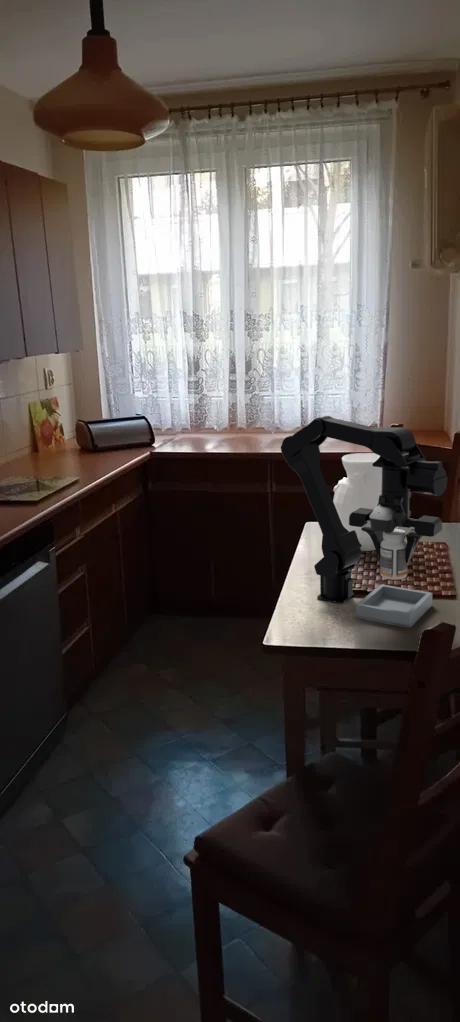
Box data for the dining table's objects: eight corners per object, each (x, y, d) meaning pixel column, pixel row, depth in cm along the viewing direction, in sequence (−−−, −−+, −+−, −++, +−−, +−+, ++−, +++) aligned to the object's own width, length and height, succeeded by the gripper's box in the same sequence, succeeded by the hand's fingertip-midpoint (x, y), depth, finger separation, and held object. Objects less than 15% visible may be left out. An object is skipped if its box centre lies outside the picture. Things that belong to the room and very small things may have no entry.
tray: (355, 617, 168) (356, 604, 168) (380, 596, 180) (380, 584, 179) (409, 628, 162) (410, 614, 161) (432, 605, 173) (432, 592, 173)
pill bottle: (403, 571, 171) (404, 527, 168) (409, 580, 166) (411, 535, 163) (377, 572, 171) (378, 528, 168) (383, 581, 165) (383, 536, 163)
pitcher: (390, 559, 205) (392, 465, 198) (322, 552, 213) (322, 461, 206) (407, 539, 221) (409, 452, 214) (344, 533, 229) (344, 449, 222)
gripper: (337, 492, 162) (337, 564, 166) (425, 502, 152) (422, 579, 156) (360, 481, 171) (359, 550, 175) (444, 490, 161) (441, 562, 165)
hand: (393, 560), depth 167 cm, fingers closed on pill bottle, 6 cm apart
